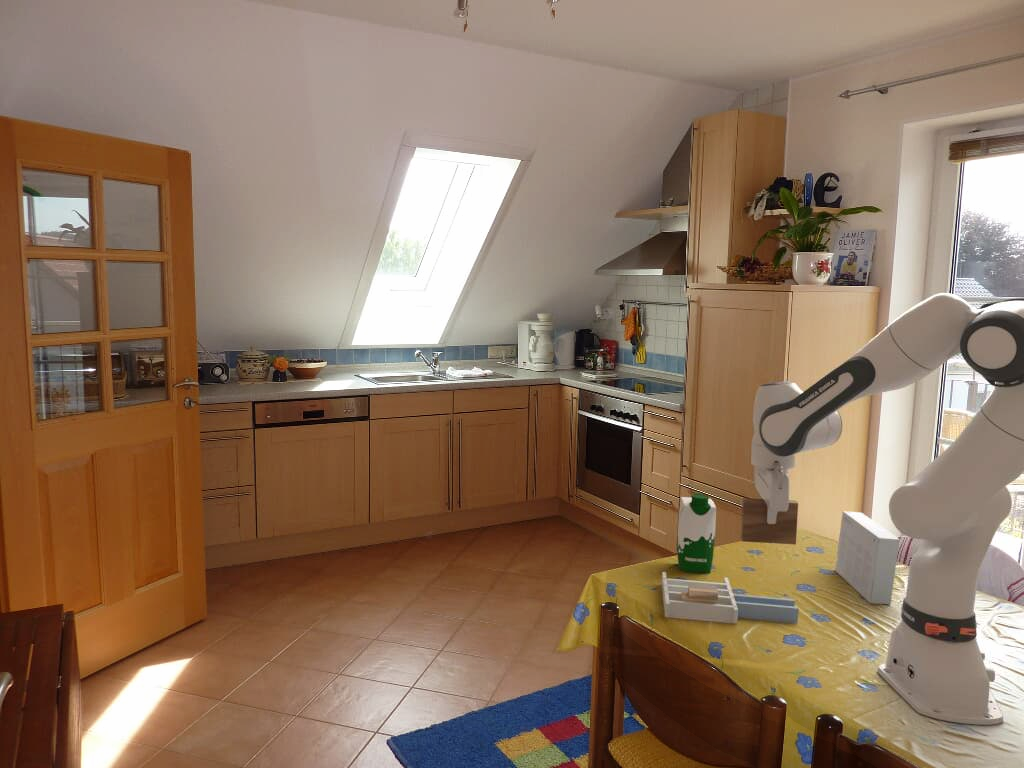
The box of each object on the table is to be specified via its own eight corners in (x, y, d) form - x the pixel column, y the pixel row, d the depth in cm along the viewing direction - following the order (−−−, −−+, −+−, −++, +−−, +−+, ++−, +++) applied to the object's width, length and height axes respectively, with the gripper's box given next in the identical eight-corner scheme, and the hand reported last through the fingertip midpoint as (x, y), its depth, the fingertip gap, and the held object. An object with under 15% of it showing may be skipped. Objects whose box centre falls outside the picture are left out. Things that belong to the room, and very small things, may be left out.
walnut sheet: (795, 544, 166) (798, 503, 165) (742, 541, 167) (744, 500, 166) (793, 541, 168) (796, 500, 167) (741, 538, 169) (743, 498, 168)
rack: (736, 627, 165) (738, 610, 164) (664, 621, 167) (665, 603, 167) (726, 593, 183) (727, 577, 182) (661, 588, 185) (662, 571, 184)
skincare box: (893, 605, 179) (900, 539, 177) (869, 604, 179) (876, 538, 177) (855, 570, 200) (861, 510, 198) (834, 570, 200) (839, 510, 198)
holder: (797, 627, 166) (799, 609, 165) (734, 621, 168) (736, 604, 167) (792, 615, 172) (793, 598, 171) (731, 610, 174) (732, 592, 173)
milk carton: (677, 576, 192) (683, 497, 189) (674, 563, 201) (678, 487, 198) (714, 578, 191) (719, 500, 189) (708, 565, 200) (714, 489, 197)
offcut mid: (714, 608, 168) (715, 600, 167) (681, 605, 169) (681, 597, 168) (713, 602, 171) (713, 594, 170) (680, 599, 172) (681, 591, 171)
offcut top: (717, 600, 167) (718, 592, 167) (689, 598, 168) (689, 590, 168) (716, 595, 170) (716, 587, 170) (688, 592, 171) (688, 584, 171)
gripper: (798, 468, 155) (794, 536, 156) (779, 448, 175) (776, 508, 176) (765, 467, 156) (762, 534, 157) (750, 447, 176) (747, 507, 177)
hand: (769, 520), depth 167 cm, fingers closed on walnut sheet, 2 cm apart
